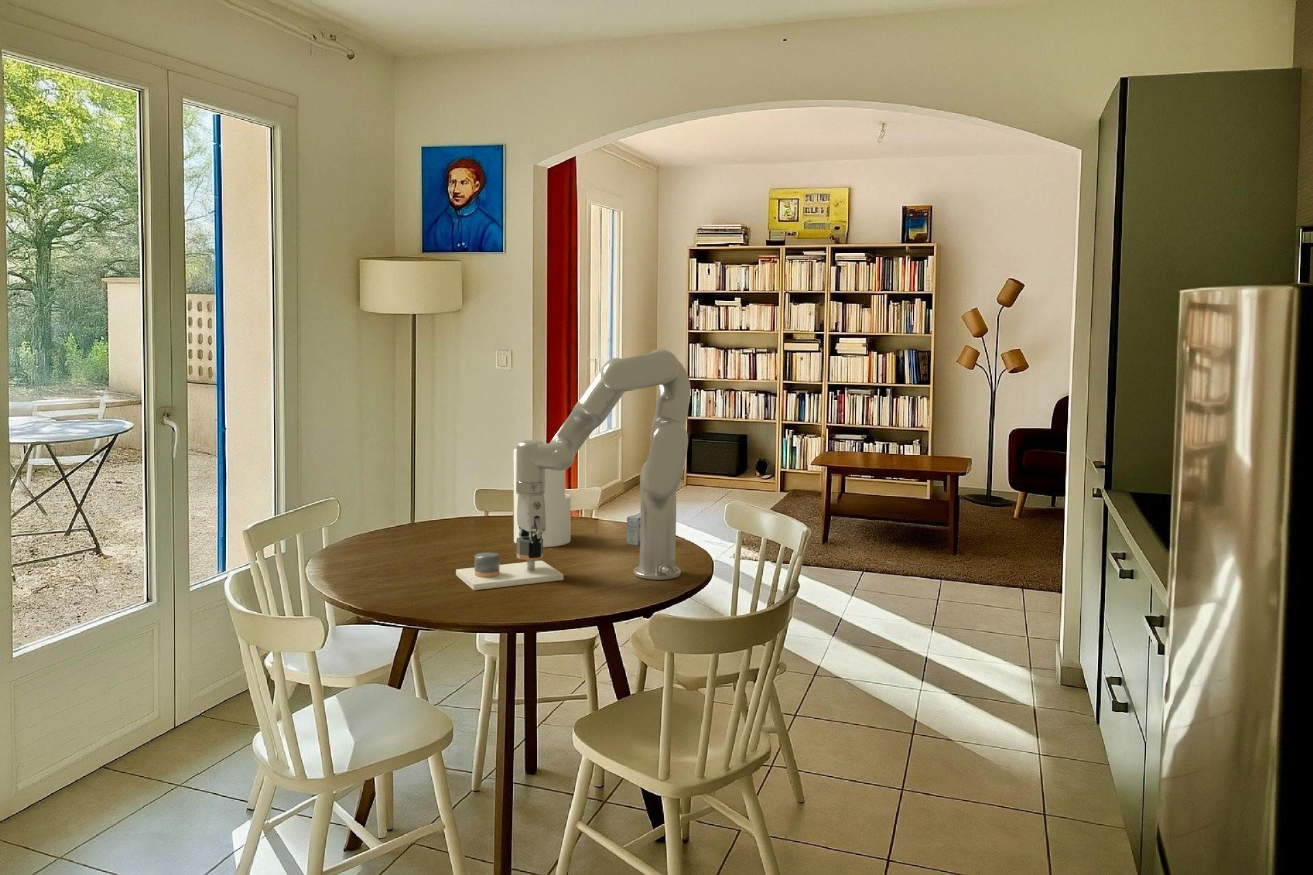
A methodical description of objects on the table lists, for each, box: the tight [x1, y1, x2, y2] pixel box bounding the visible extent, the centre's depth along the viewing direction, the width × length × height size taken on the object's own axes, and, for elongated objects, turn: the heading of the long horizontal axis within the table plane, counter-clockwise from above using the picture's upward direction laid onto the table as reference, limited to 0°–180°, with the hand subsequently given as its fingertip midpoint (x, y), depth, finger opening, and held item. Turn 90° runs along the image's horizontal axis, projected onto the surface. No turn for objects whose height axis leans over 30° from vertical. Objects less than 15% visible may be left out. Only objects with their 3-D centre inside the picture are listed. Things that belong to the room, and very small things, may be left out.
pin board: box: [455, 552, 564, 591], centre depth 258 cm, size 16×24×6 cm, turn 117°
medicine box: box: [626, 513, 641, 547], centre depth 299 cm, size 8×4×9 cm, turn 143°
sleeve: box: [516, 536, 544, 561], centre depth 260 cm, size 6×6×5 cm
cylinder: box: [513, 448, 572, 548], centre depth 299 cm, size 17×17×28 cm
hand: (529, 553), depth 260 cm, fingers closed on sleeve, 6 cm apart
